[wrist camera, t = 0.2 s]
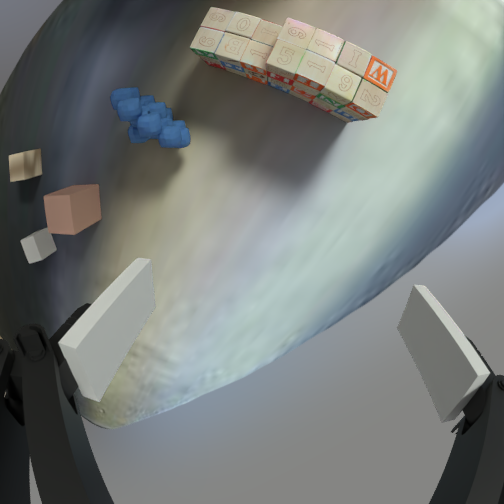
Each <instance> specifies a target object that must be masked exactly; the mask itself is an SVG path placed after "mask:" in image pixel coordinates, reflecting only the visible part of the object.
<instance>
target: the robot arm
mask: <svg viewBox="0 0 504 504" xmlns="http://www.w3.org/2000/svg"><path fill="white" fill-rule="evenodd" d="M155 307H156V304H155V295H154V286H153V275H152V264H151V259H145V258H136V259H135V260H134V261H133V262H132V263H131V264H130V265H129V266H128V267H127V268H126V269H125V270H124V271H123V272H122V273H121V274H120V275H119V276H118V277H117V278H116V280H115V281H114V282H113V283H112V284H111V285H110V286H109V287H108V288H107V289H106V290H105V291H104V292H103V293H102V294H101V295H100V296H99V297H98V298H97V299H96V301H95V302H94V303H93V304H88V303H87V304H85V305H83V306H81V307H80V308H78V309H77V310H76V311H75V312H74V313H73V314H72V315H71V317H69V318H68V319H67V320H66V322H65V323H64V324H63V325H62V326H61V327H60V328H59V329H58V330H57V331H56V333H55V334H54V335H53V336H52V337H51V338H50V339H48V337H47V334H46V332H45V329H44V328H43V327H42V326H41V325H38V324H29V325H26V326H23V327H22V328H20V329H19V330H18V331H17V332H16V333H15V335H14V338H13V339H14V342H15V344H16V346H17V348H18V350H19V351H14V350H12V349H11V347H10V345H9V343H8V342H7V341H6V340H4V339H0V504H30V503H31V502H30V485H29V484H30V483H29V459H30V458H31V463H32V467H33V472H34V476H35V480H36V484H37V487H38V491H39V495H40V498H41V501H42V504H114V502H113V500H112V498H111V496H110V494H109V492H108V490H107V487H106V485H105V483H104V480H103V478H102V476H101V473H100V471H99V469H98V466H97V463H96V461H95V458H94V455H93V452H92V450H91V447H90V444H89V441H88V438H87V435H86V431H85V428H84V425H83V421H82V418H81V414H80V410H79V406H78V402H77V398H76V396H75V394H74V392H75V391H76V389H77V387H79V389H80V391H81V393H82V395H83V396H84V397H87V398H89V399H92V400H95V401H97V402H100V400H101V398H102V396H103V395H104V393H105V391H106V389H107V387H108V386H109V384H110V382H111V380H112V379H113V377H114V375H115V373H116V372H117V370H118V368H119V366H120V365H121V363H122V361H123V360H124V358H125V356H126V355H127V353H128V351H129V350H130V348H131V346H132V345H133V343H134V341H135V340H136V338H137V336H138V335H139V333H140V331H141V330H142V328H143V326H144V325H145V323H146V322H147V320H148V318H149V317H150V315H151V314H152V312H153V310H154V309H155ZM397 329H398V331H399V333H400V335H401V336H402V338H403V340H404V342H405V344H406V346H407V348H408V350H409V352H410V354H411V356H412V358H413V360H414V362H415V364H416V366H417V368H418V370H419V372H420V374H421V376H422V379H423V381H424V383H425V385H426V387H427V389H428V392H429V394H430V396H431V398H432V401H433V403H434V405H435V408H436V410H437V412H438V415H439V417H440V419H441V422H447V421H450V420H454V419H455V418H456V417H457V416H458V415H459V414H460V412H461V411H462V410H463V412H464V414H465V416H464V417H463V418H462V419H461V420H460V422H459V423H458V424H457V425H456V426H455V427H454V428H453V429H452V431H451V432H452V433H453V432H454V431H455V430H456V429H457V428H458V432H457V433H456V434H457V435H456V438H455V441H454V445H453V448H452V450H451V453H450V456H449V459H448V462H447V464H446V467H445V469H444V472H443V474H442V477H441V479H440V481H439V483H438V486H437V488H436V490H435V492H434V494H433V496H432V499H431V501H430V503H429V504H504V376H503V375H497V376H495V374H494V373H493V371H492V370H491V368H490V367H489V365H488V364H487V362H486V361H485V359H484V358H483V356H481V354H480V352H479V351H478V350H477V348H476V346H475V345H474V344H473V342H472V341H471V340H470V339H468V338H467V337H466V336H465V335H464V334H463V333H462V331H461V330H460V329H459V327H458V326H457V325H456V324H455V322H454V321H453V319H452V318H451V317H450V316H449V314H448V313H447V312H446V311H445V309H444V308H443V307H442V306H441V304H440V303H439V302H438V301H437V299H436V298H435V297H434V296H433V295H432V294H431V292H430V291H429V290H428V289H427V288H426V286H423V285H414V286H413V288H412V291H411V294H410V297H409V299H408V302H407V305H406V308H405V310H404V313H403V315H402V318H401V321H400V322H399V325H398V327H397ZM5 392H6V395H5V398H4V394H5Z"/></svg>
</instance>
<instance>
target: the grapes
mask: <svg viewBox="0 0 504 504" xmlns="http://www.w3.org/2000/svg"><path fill="white" fill-rule="evenodd" d="M110 99H111V103H112V106H113V109H114V110H117V112H118V116H119V118H120V121H128V122H130V124H131V126H130V127H129V129H128V135H129V138H130V141H131V143H144V142H146V141H147V140H149V139H158V140H159V144H160V146H161V147H165V148H184V147H187V146H188V145H189V144H190V133H189V129H188V128H186V125H185V122H184V121H181V120H174V121H173V115H172V110H171V108H166V105H165V102H155V99H154V96H153V95H146V96H140V93H139V90H138V87H132V88H120V89H116V90H114V91H113V92H112V94H111V96H110Z"/></svg>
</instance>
